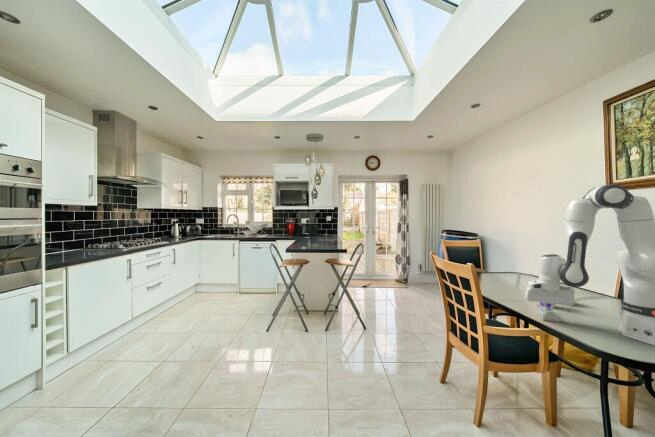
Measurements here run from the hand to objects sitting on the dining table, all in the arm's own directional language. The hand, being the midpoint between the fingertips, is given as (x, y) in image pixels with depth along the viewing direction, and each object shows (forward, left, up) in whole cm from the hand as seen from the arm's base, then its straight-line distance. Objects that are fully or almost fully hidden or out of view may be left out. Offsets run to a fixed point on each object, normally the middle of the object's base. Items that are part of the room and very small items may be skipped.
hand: (548, 310), depth 138 cm
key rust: (+9, -5, -4) cm, 11 cm away
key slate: (+4, -3, -2) cm, 6 cm away
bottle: (+17, -17, -5) cm, 24 cm away
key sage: (0, 0, -2) cm, 2 cm away
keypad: (+4, -3, -4) cm, 7 cm away
